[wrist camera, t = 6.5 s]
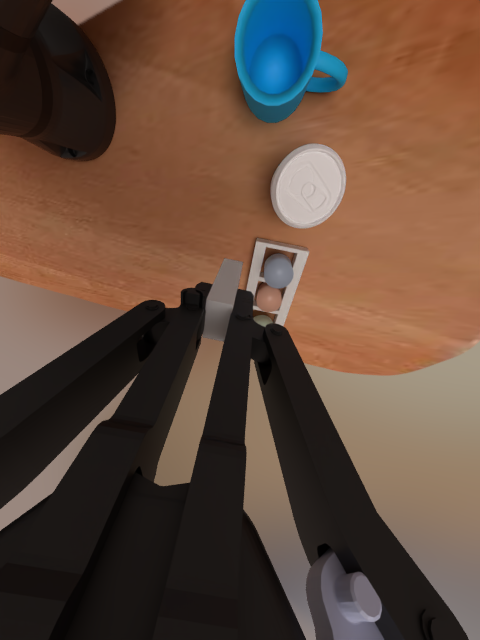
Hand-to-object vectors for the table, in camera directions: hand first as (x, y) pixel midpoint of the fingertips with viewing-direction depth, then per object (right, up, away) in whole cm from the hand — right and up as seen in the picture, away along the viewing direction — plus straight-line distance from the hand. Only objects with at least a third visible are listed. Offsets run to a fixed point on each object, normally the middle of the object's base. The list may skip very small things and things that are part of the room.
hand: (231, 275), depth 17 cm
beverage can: (+9, +17, +15) cm, 25 cm away
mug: (+7, +26, +9) cm, 29 cm away
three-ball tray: (+7, +2, +25) cm, 26 cm away
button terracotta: (+6, +2, +25) cm, 26 cm away
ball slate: (+7, +6, +19) cm, 21 cm away
